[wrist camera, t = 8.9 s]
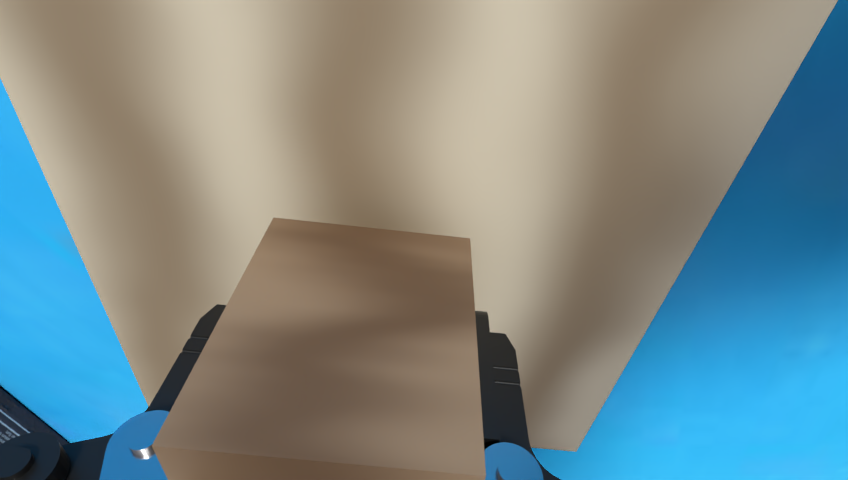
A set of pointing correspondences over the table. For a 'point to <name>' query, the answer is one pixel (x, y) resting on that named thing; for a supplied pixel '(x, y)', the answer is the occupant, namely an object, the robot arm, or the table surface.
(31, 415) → the small box
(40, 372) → the table surface
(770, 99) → the birch plinth
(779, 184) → the table surface
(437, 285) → the walnut block
